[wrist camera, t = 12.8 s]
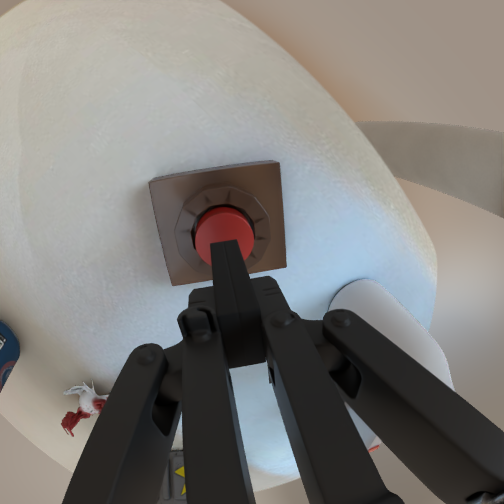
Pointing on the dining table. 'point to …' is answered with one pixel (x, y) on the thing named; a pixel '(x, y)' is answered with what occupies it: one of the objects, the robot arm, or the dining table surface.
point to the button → (223, 231)
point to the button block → (213, 196)
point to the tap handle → (364, 431)
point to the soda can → (7, 352)
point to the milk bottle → (393, 324)
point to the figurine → (83, 406)
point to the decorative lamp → (173, 481)
